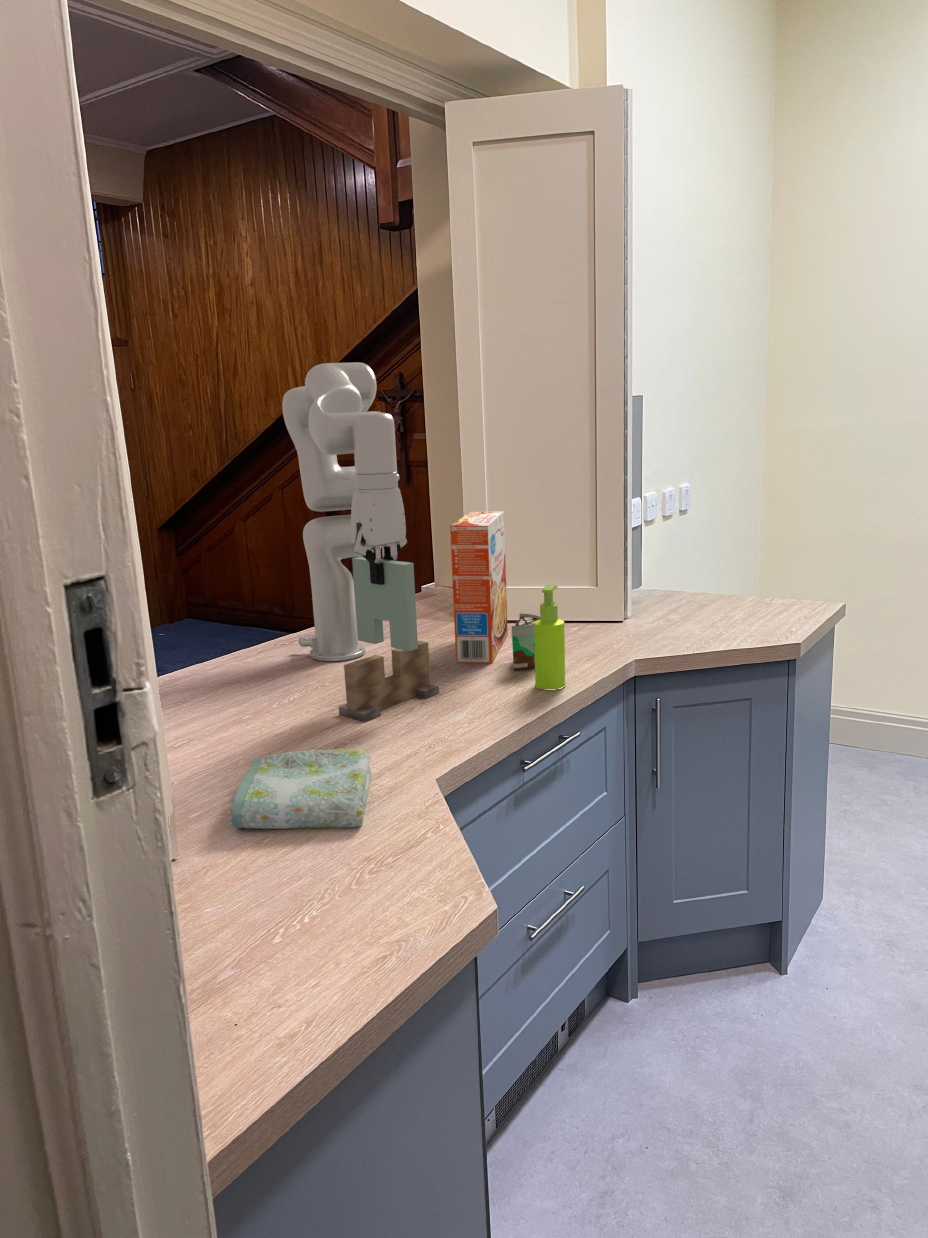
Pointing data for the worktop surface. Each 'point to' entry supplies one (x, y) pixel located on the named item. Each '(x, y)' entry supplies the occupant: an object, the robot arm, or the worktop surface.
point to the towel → (304, 790)
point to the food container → (524, 642)
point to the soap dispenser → (549, 644)
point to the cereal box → (479, 586)
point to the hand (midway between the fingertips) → (383, 581)
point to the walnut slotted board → (386, 682)
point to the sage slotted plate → (386, 603)
